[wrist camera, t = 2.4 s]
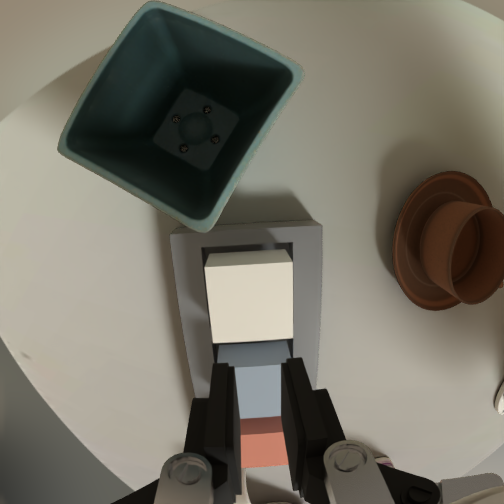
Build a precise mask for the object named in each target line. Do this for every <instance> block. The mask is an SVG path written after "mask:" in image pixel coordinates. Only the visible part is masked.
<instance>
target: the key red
mask: <svg viewBox="0 0 504 504" xmlns="http://www.w3.org/2000/svg"><path fill="white" fill-rule="evenodd" d="M240 425H241V468H250V467H266V466H278V465H287V464H289V463H288V457H287V452H286V446H285V440H284V434H283V428H282V422H281V416H273V417H261V418H244V419H240Z"/></svg>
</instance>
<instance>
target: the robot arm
mask: <svg viewBox="0 0 504 504" xmlns="http://www.w3.org/2000/svg"><path fill="white" fill-rule="evenodd" d="M495 409H496V411H497V412H498V413H499V414H504V382H503V384H502V386H501V388H500V390H499V392H498V394H497V397H496V400H495ZM281 422H282V428H283V434H284V440H285V446H286V452H287V457H288V463H289V469H290V475H291V481H292V487H293V491H297V490H299V493H300V498H302V497H304V500H305V501H306V502H308V503H310V504H504V483H503V480H502V479H501V477H500V476H498V475H497V474H494V473H485V474H480V475H474V476H468V477H461V478H453V479H444V480H441V481H440V482H439V483H434V482H433V481H431V480H429V479H427V478H423V477H420V476H416V475H413V474H410V473H407V472H404V471H401V470H398V469H395V468H392V467H389V466H386V465H383V464H381V463H378V462H376V461H375V459H374V456H373V454H372V452H371V451H370V449H369V448H368V447H367V446H366V445H364V444H363V443H361V442H358V441H353V440H346V438H345V435H344V433H343V430H342V427H341V425H340V422H339V419H338V417H337V414H336V412H335V409H334V406H333V404H332V401H331V398H330V396H329V393H328V391H327V389H319V390H313V389H312V386H311V383H310V380H309V377H308V374H307V371H306V368H305V365H304V362H303V359H302V357H297V358H287V359H286V362H285V363H281ZM236 495H242V472H241V425H240V413H239V404H238V395H237V385H236V376H235V367H234V366H229V364H228V362H227V363H213V366H212V375H211V383H210V392H209V398H193V400H192V405H191V411H190V417H189V422H188V428H187V434H186V440H185V446H184V452H183V453H180V454H176V455H174V456H172V457H170V458H169V459H168V460H167V461H166V462H165V463H164V465H163V467H162V471H161V475H160V478H159V479H157V480H155V481H154V482H152V483H150V484H148V485H146V486H145V487H143V488H141V489H139V490H137V491H135V492H133V493H131V494H130V495H128V496H125V497H124V498H122V499H119V500H117V501H116V502H114V503H111V504H234V503H236Z"/></svg>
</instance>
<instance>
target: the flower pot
mask: <svg viewBox="0 0 504 504" xmlns="http://www.w3.org/2000/svg"><path fill="white" fill-rule="evenodd" d="M304 76H305V71H304V69H303V67H302V66H301V65H299V64H298V63H297V62H295V61H294V60H292V59H290V58H288V57H286V56H284V55H282V54H281V53H279V52H277V51H275V50H273V49H271V48H269V47H268V46H266V45H264V44H261V43H259V42H257V41H255V40H254V39H251V38H249V37H247V36H245V35H243V34H241V33H239V32H237V31H234V30H232V29H230V28H228V27H225V26H224V25H221V24H219V23H217V22H214V21H212V20H209V19H206V18H204V17H202V16H199V15H197V14H195V13H192V12H189V11H186V10H183V9H181V8H178V7H176V6H173V5H170V4H167V3H164V2H160V1H148V2H147V3H145V4H144V5H143V6H142V7H141V8H140V9H139V10H138V11H137V12H136V13H135V14H134V16H133V17H132V19H131V20H130V21H129V23H128V24H127V25H126V27H125V28H124V29H123V31H122V32H121V34H120V35H119V37H118V38H117V40H116V41H115V43H114V44H113V45H112V47H111V49H110V50H109V51H108V53H107V55H106V56H105V57H104V59H103V60H102V62H101V64H100V65H99V67H98V69H97V70H96V72H95V74H94V75H93V77H92V79H91V80H90V81H89V83H88V85H87V87H86V89H85V90H84V92H83V94H82V95H81V97H80V98H79V100H78V102H77V104H76V106H75V108H74V110H73V111H72V113H71V115H70V117H69V119H68V121H67V123H66V125H65V127H64V129H63V131H62V133H61V136H60V139H59V142H58V147H57V150H58V152H59V153H60V154H61V155H63V156H64V157H66V158H67V159H69V160H72V161H73V162H75V163H77V164H79V165H81V166H83V167H84V168H86V169H88V170H89V171H92V172H94V173H95V174H97V175H99V176H101V177H103V178H104V179H106V180H108V181H110V182H112V183H113V184H115V185H117V186H118V187H120V188H122V189H124V190H125V191H127V192H129V193H131V194H132V195H134V196H136V197H138V198H140V199H141V200H143V201H145V202H146V203H148V204H150V205H152V206H154V207H155V208H157V209H158V210H160V211H162V212H164V213H165V214H167V215H169V216H170V217H172V218H174V219H175V220H177V221H179V222H181V223H182V224H183V225H185V226H187V227H188V228H190V229H193V230H195V231H197V232H202V233H206V232H208V231H210V230H211V229H212V228H213V226H214V225H215V223H216V222H217V220H218V218H219V216H220V214H221V213H222V210H223V208H224V207H225V205H226V203H227V201H228V200H229V198H230V196H231V195H232V193H233V191H234V189H235V187H236V186H237V184H238V182H239V180H240V179H241V177H242V175H243V174H244V172H245V170H246V169H247V167H248V165H249V163H250V162H251V160H252V158H253V157H254V155H255V154H256V152H257V150H258V149H259V147H260V145H261V144H262V142H263V140H264V139H265V137H266V136H267V134H268V132H269V131H270V129H271V127H272V126H273V124H274V123H275V121H276V120H277V118H278V117H279V115H280V114H281V112H282V111H283V109H284V108H285V106H286V104H287V103H288V102H289V100H290V98H291V97H292V96H293V94H294V93H295V92H296V90H297V89H298V87H299V86H300V84H301V83H302V81H303V79H304ZM205 107H209V108H210V109H211V111H210V113H205V112H204V108H205ZM177 115H178V116H179V117H180V121H179V122H177V123H175V122H174V121H173V117H174V116H177ZM214 136H217V137H218V138H219V141H218V142H217V143H213V142H212V138H213V137H214ZM182 145H186V146H187V148H188V149H187V151H186V152H182V151H181V150H180V148H181V146H182Z"/></svg>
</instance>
